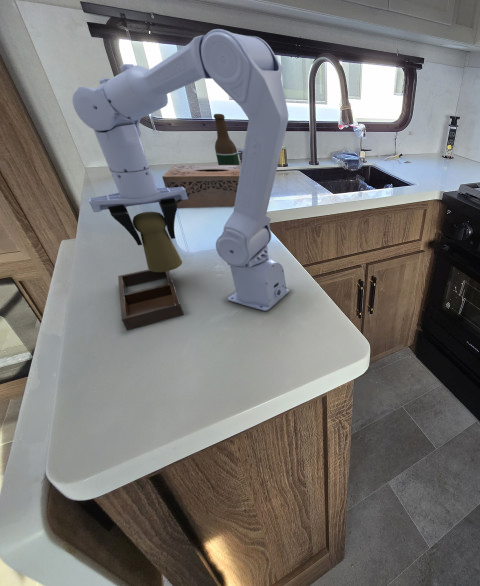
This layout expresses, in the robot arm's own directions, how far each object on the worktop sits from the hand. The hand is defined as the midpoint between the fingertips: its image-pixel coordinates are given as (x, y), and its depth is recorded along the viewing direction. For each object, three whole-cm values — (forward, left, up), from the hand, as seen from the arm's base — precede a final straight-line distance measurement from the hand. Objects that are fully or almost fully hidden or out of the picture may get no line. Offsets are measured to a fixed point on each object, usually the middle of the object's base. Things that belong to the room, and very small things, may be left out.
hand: (156, 240), depth 65 cm
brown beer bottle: (+42, -67, -10) cm, 80 cm away
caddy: (-1, +6, -10) cm, 12 cm away
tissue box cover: (+31, -47, -11) cm, 57 cm away
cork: (0, 0, -6) cm, 6 cm away
